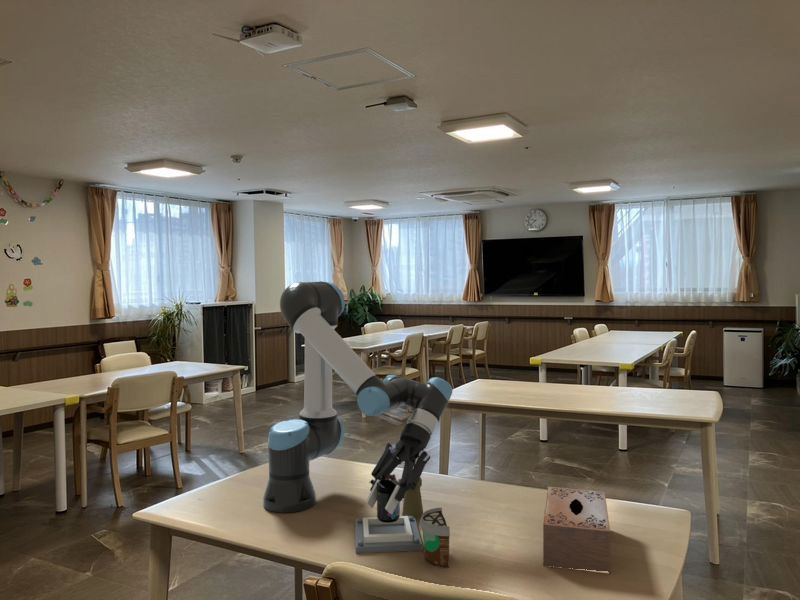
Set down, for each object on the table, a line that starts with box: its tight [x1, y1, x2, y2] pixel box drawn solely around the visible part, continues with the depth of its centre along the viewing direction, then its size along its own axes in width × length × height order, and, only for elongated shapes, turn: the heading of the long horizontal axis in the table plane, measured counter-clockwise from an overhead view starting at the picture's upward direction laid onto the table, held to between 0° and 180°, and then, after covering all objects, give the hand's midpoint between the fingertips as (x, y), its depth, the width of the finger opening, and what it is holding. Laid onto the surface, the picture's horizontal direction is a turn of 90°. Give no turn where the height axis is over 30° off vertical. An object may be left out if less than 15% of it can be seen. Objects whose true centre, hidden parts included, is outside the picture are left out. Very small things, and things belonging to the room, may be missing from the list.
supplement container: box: [376, 480, 401, 523], centre depth 155 cm, size 6×6×9 cm
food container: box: [419, 507, 451, 569], centre depth 144 cm, size 12×6×10 cm, turn 5°
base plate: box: [354, 515, 423, 554], centre depth 156 cm, size 16×16×3 cm
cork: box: [401, 476, 424, 520], centre depth 170 cm, size 6×6×11 cm
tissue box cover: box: [542, 486, 611, 573], centre depth 150 cm, size 26×14×10 cm, turn 164°
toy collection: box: [368, 473, 405, 499], centre depth 189 cm, size 15×14×5 cm
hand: (378, 508), depth 152 cm, fingers closed on supplement container, 6 cm apart
